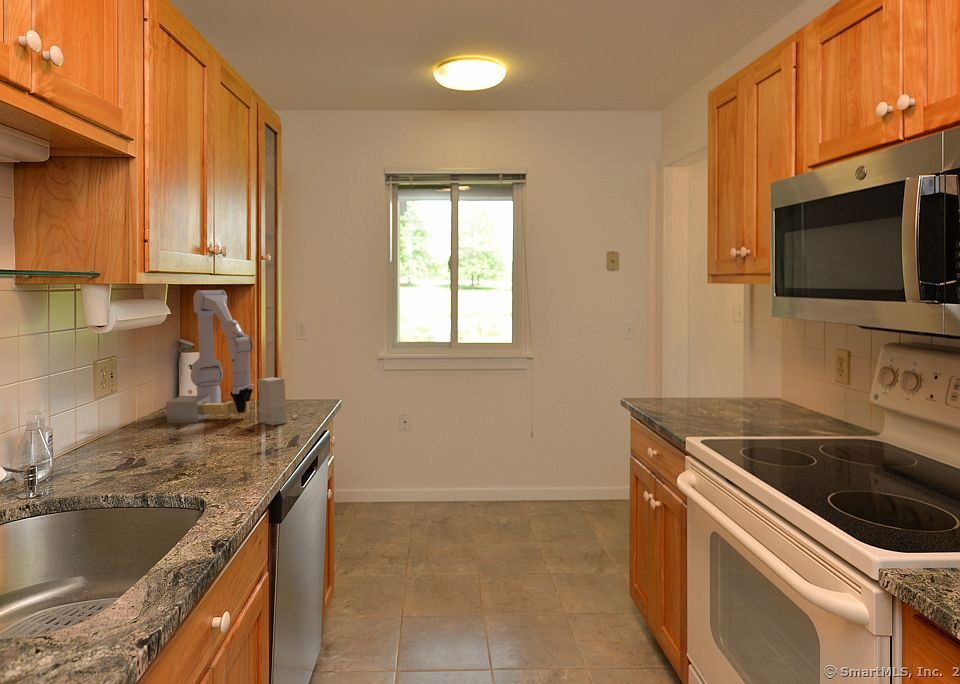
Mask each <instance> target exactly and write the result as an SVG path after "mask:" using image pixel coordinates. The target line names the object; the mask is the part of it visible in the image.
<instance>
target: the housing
mask: <svg viewBox="0 0 960 684" xmlns="http://www.w3.org/2000/svg"><path fill="white" fill-rule="evenodd" d="M204 403H210V395H208V396H197V395H179V396H177V397H175V398H173V399H171V400H168V401H166V420H167V424H184V423H185V424H186V423H187V424H188V423H189V424H195V423H196V424H197V423H198V424H199V423H201V422H202V421H203V419H204V420H205V419H206V418H209V417H210V416H212V414H202V404H204Z"/></svg>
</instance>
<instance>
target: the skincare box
mask: <svg viewBox="0 0 960 684" xmlns="http://www.w3.org/2000/svg"><path fill="white" fill-rule="evenodd" d="M285 384H286V383H285V378H279V377H266V378H259V379H257V385H258V386H257V387H258V399H259V400H258V401H259V402H258V403H259V413H260V423H263V424H266V425H270V426H275V425H284V424H287V423H288V414H287V399H286V388H285V387H286V385H285Z"/></svg>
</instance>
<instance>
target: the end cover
mask: <svg viewBox="0 0 960 684" xmlns="http://www.w3.org/2000/svg"><path fill="white" fill-rule="evenodd" d="M250 406H251V405H250V401H249V402H246V406H245V412H241V413H240V414H248V413H250V411H251V410H250ZM202 414H211V415H223V419H225V420H226V419H227V420H228V419H230V418H232V417H234V414H239V413H238V411H237V408H236V405H235V402H234V400H228V401H226V402H221V403H204V404H202Z"/></svg>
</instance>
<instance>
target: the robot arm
mask: <svg viewBox="0 0 960 684" xmlns="http://www.w3.org/2000/svg"><path fill="white" fill-rule="evenodd" d="M192 297H193V299H192V300H193V301H192V303H193V312H194V313H196V314H197V329H198V330H197V332H198V334H197V335H198V351H199V352H198V354H199V356H198V357H199V358H198V359H196V360H195V361H194V362H193V363H192V364H191V370H190V380H191V382H192V384H193V385H194V386H196V396H208V395H210V403H222V394H221V393H222V392H221V391H222V389H221V387H220V383H221V382H222V380H223V378H224V372H223V369H222V368H223V367H222V362H220V360H217V359H216V358H215V346H214V345H215V344H214V343H215V342H214V322H213V320H214V317H213V316H214V315H216V316H217V319H218V320H219V321H220V323H221V331H222V332H223V335H224V336H225V339H226V340H227V342H228V343H227V349H228V352H229V358H230V359H231V373H232V374H231V375H232V377H231V378H232V387H231V392H230V396H231V397H232V399H233V402H235V405H236V408H237V411H238V413H237V414H242V413H241V412H245V406H246V402H249V403H250V400H251V396H252V393H253V392H254V388H253V387H255V384H254V383H252V381H251V362H250V360H251V359H250V356H251V354H250V353H251V352H252V350H253V345H254V344H253V340H252V337H251V336H249V335H247V334H246V333H244V331H243V329H242V328H241V326H240V325H239V323H238V320H235V319H233V318H232V316H231V315H232V314H231V313H230V310H229V308H228V305H227V304H228V296H227V293H226V291H225V290H224V289H217V290H214V289H213V290H212V289H211V290H209V289H208V290H207V289H206V290H201V289H198V290H196V291H195V293H194V294H193V296H192Z"/></svg>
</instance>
